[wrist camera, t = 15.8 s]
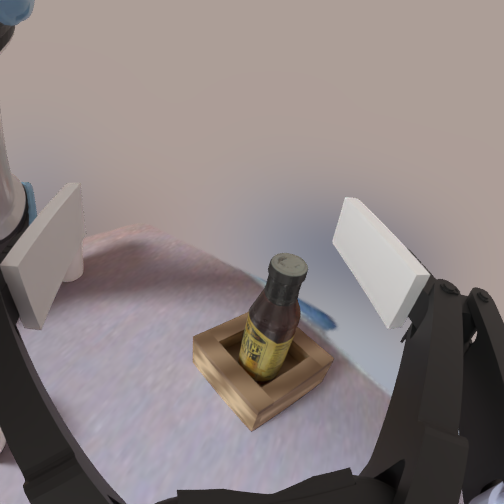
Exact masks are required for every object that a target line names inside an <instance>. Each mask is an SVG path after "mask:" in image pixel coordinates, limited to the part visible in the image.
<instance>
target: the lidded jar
mask: <svg viewBox="0 0 504 504" xmlns="http://www.w3.org/2000/svg"><path fill="white" fill-rule="evenodd" d="M5 443H6V439H5V437H4V434H3V432H2V430H1V427H0V453H1V451H2V450H3V448H4V446H5Z"/></svg>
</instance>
